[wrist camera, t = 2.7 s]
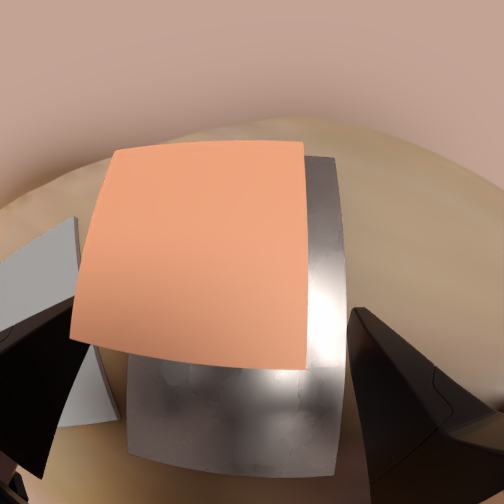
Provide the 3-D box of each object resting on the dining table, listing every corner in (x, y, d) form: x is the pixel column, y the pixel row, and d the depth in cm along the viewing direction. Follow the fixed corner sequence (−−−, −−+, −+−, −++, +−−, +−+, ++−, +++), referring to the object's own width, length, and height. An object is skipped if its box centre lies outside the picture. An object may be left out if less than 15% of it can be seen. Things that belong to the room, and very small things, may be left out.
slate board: (121, 418, 15) (117, 419, 14) (21, 427, 14) (17, 428, 13) (77, 218, 20) (73, 215, 20) (-5, 271, 19) (-9, 270, 19)
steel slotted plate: (323, 457, 13) (333, 475, 11) (147, 440, 14) (127, 453, 11) (327, 181, 20) (334, 157, 17) (175, 179, 21) (164, 157, 18)
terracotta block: (278, 352, 16) (306, 370, 4) (199, 347, 17) (69, 338, 5) (281, 275, 18) (303, 141, 6) (206, 272, 18) (115, 150, 6)
